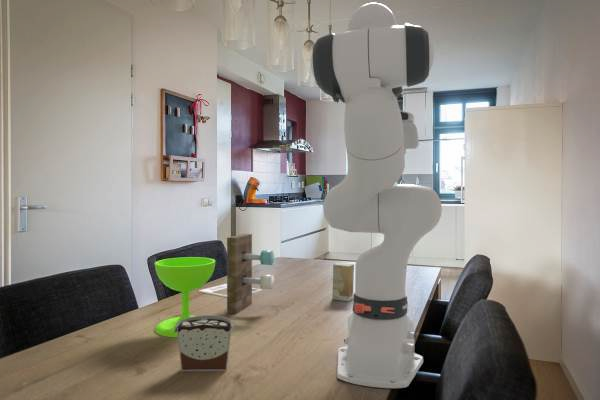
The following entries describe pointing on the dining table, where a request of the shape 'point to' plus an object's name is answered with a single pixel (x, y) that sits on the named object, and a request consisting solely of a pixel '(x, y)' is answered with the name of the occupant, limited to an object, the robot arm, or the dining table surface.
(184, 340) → the food container
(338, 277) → the skincare box
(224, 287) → the photo frame
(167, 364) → the dining table surface
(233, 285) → the block
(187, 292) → the wineglass
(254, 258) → the knob upper
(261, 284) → the knob lower
